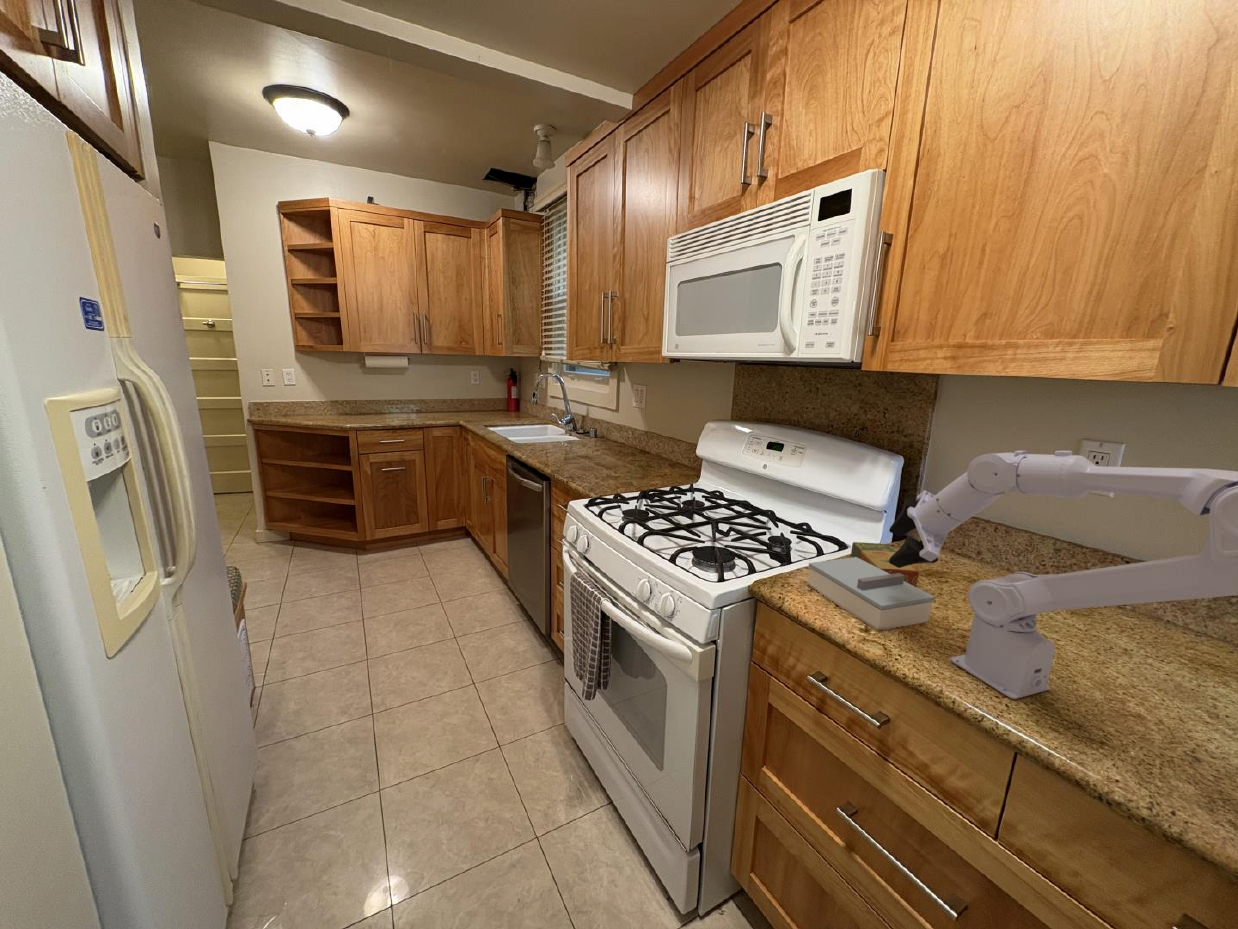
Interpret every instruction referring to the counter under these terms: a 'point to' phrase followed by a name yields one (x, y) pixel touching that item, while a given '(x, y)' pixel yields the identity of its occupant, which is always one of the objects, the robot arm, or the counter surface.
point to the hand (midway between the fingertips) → (894, 548)
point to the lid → (872, 583)
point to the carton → (883, 560)
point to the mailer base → (869, 605)
